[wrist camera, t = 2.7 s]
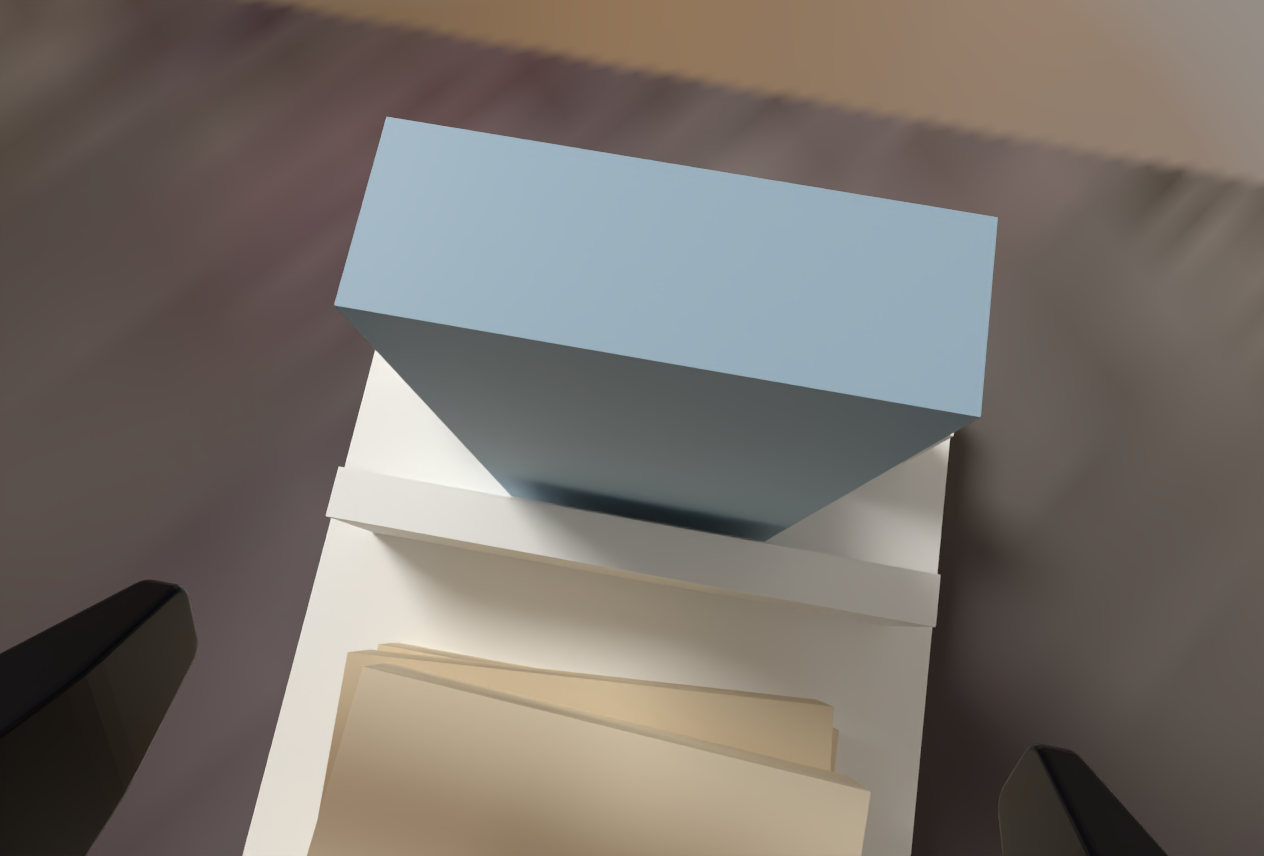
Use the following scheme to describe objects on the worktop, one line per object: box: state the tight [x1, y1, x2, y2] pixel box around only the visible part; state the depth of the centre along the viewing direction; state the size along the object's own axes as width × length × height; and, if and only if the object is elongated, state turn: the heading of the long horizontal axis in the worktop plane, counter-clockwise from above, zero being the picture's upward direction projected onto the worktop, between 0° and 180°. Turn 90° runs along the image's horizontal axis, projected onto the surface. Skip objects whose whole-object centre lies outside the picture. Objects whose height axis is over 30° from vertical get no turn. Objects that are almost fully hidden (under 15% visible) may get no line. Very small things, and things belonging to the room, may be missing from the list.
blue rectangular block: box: [334, 117, 998, 541], centre depth 14 cm, size 2×6×12 cm, turn 80°
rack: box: [243, 350, 954, 856], centre depth 18 cm, size 16×14×4 cm
